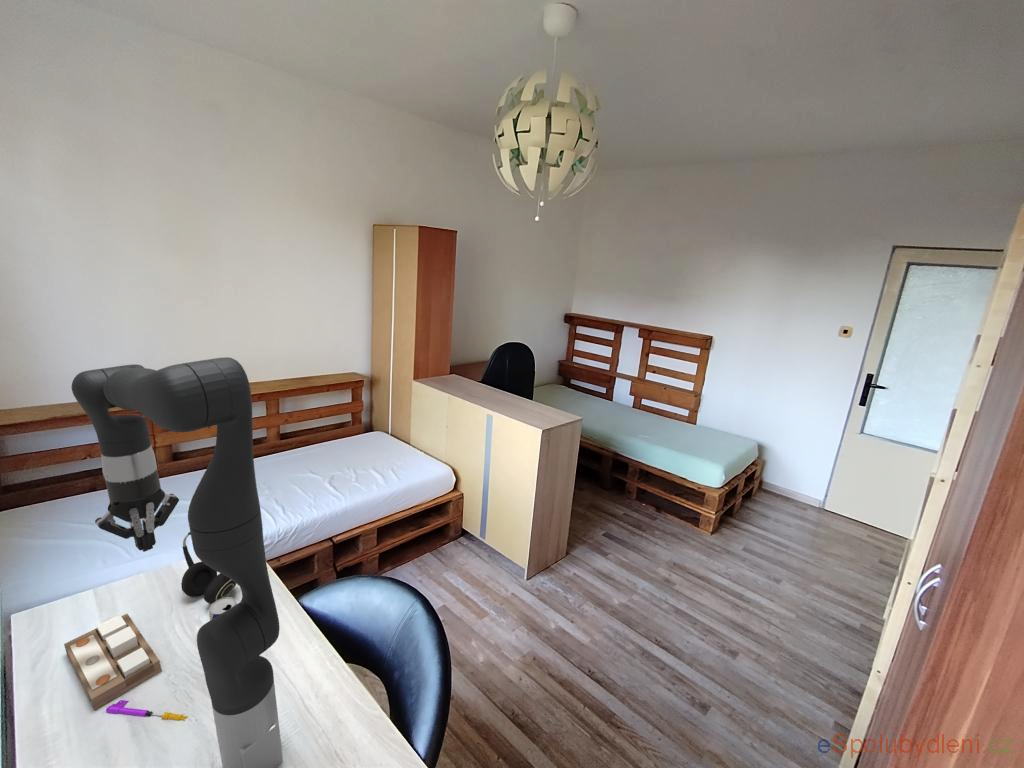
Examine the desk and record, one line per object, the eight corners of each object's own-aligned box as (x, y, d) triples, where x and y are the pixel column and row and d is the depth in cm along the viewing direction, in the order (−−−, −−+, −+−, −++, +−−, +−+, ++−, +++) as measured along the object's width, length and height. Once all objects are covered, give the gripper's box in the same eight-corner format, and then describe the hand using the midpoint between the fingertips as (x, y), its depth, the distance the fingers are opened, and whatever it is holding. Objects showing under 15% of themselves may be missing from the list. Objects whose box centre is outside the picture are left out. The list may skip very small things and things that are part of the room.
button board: (161, 670, 96) (159, 658, 95) (94, 710, 87) (91, 697, 86) (129, 623, 107) (126, 611, 106) (66, 654, 98) (63, 642, 97)
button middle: (138, 646, 98) (136, 635, 98) (114, 659, 95) (111, 648, 94) (131, 636, 101) (129, 626, 100) (108, 648, 97) (105, 638, 96)
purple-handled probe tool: (104, 713, 87) (183, 723, 87) (104, 708, 87) (183, 717, 87) (116, 703, 90) (193, 712, 89) (117, 697, 90) (193, 707, 89)
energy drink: (229, 659, 100) (223, 617, 96) (209, 653, 101) (202, 611, 97) (247, 640, 105) (242, 599, 101) (228, 634, 106) (222, 594, 102)
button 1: (128, 634, 103) (126, 623, 102) (105, 646, 99) (102, 635, 98) (122, 624, 105) (120, 614, 104) (99, 636, 101) (96, 625, 101)
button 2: (151, 668, 95) (149, 658, 94) (126, 683, 92) (124, 672, 91) (144, 657, 97) (141, 647, 96) (119, 671, 94) (117, 660, 93)
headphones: (205, 577, 122) (195, 515, 116) (248, 592, 119) (240, 528, 113) (174, 599, 114) (162, 533, 109) (220, 615, 111) (209, 548, 105)
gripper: (90, 491, 75) (109, 575, 81) (180, 464, 86) (193, 540, 91) (77, 476, 79) (97, 557, 85) (165, 452, 90) (178, 525, 95)
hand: (146, 548), depth 88 cm, fingers closed
